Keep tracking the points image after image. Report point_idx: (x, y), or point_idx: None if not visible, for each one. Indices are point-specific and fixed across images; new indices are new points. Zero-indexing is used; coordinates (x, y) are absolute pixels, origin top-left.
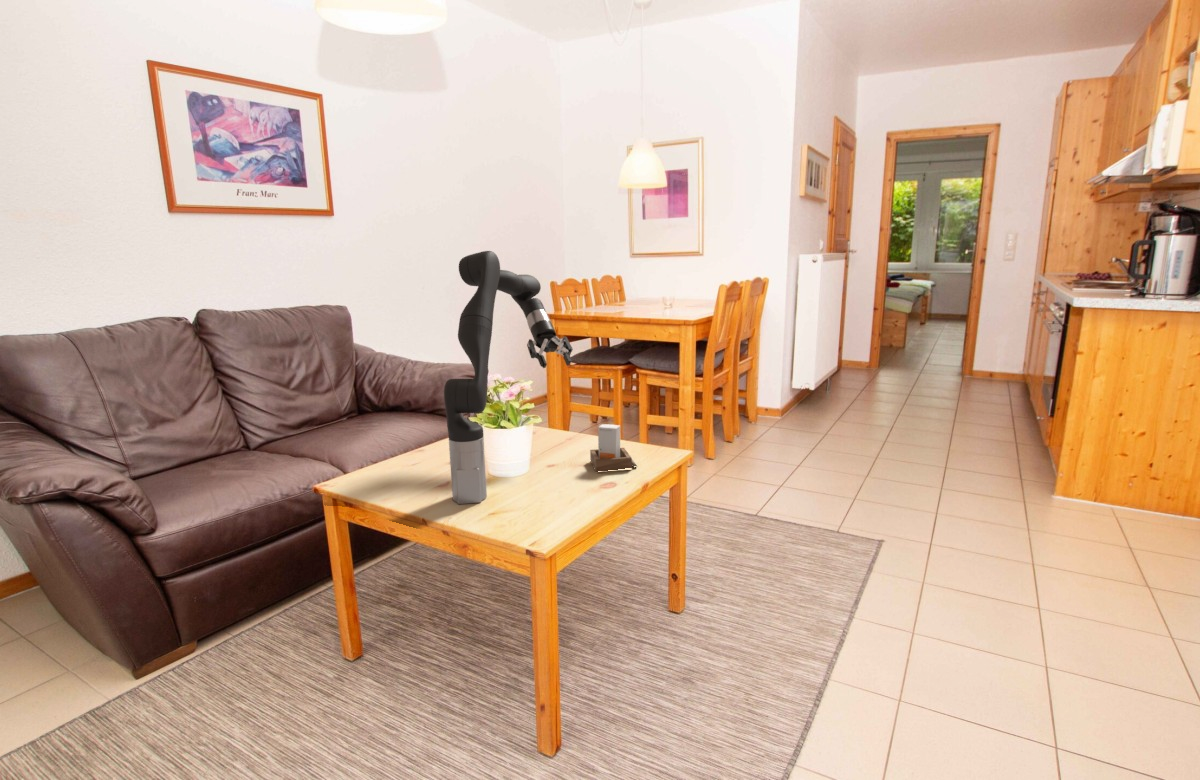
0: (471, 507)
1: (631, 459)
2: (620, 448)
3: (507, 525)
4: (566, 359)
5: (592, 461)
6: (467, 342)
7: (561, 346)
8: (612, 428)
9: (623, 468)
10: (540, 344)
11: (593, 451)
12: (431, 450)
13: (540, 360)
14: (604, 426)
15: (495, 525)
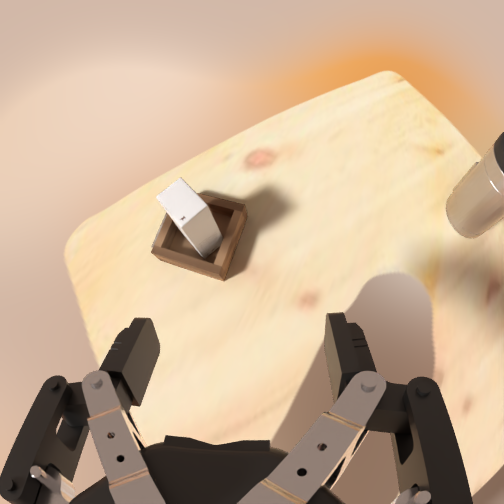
0: None
1: None
2: (160, 250)
3: (423, 118)
4: (143, 353)
5: (231, 254)
6: None
7: (110, 412)
8: (185, 182)
9: None
10: (336, 498)
11: (218, 259)
12: None
13: (367, 347)
14: (192, 202)
15: (435, 125)
